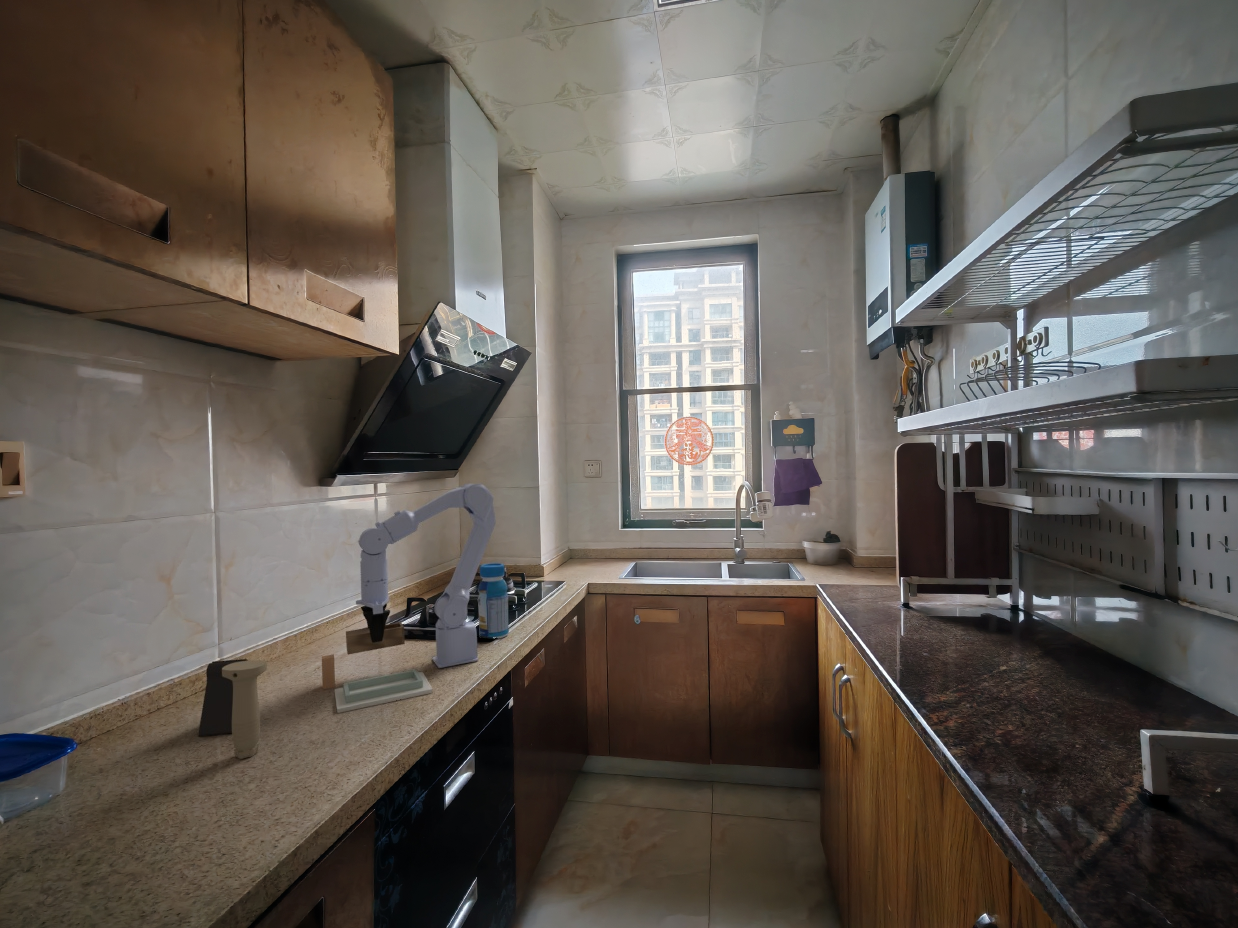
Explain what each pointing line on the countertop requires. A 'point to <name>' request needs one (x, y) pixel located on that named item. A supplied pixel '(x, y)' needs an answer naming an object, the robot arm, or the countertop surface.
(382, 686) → the cradle
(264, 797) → the countertop surface
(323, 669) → the tan square block
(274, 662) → the countertop surface
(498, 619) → the beverage bottle
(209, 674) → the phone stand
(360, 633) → the tan box sleeve
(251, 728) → the handle
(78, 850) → the countertop surface
